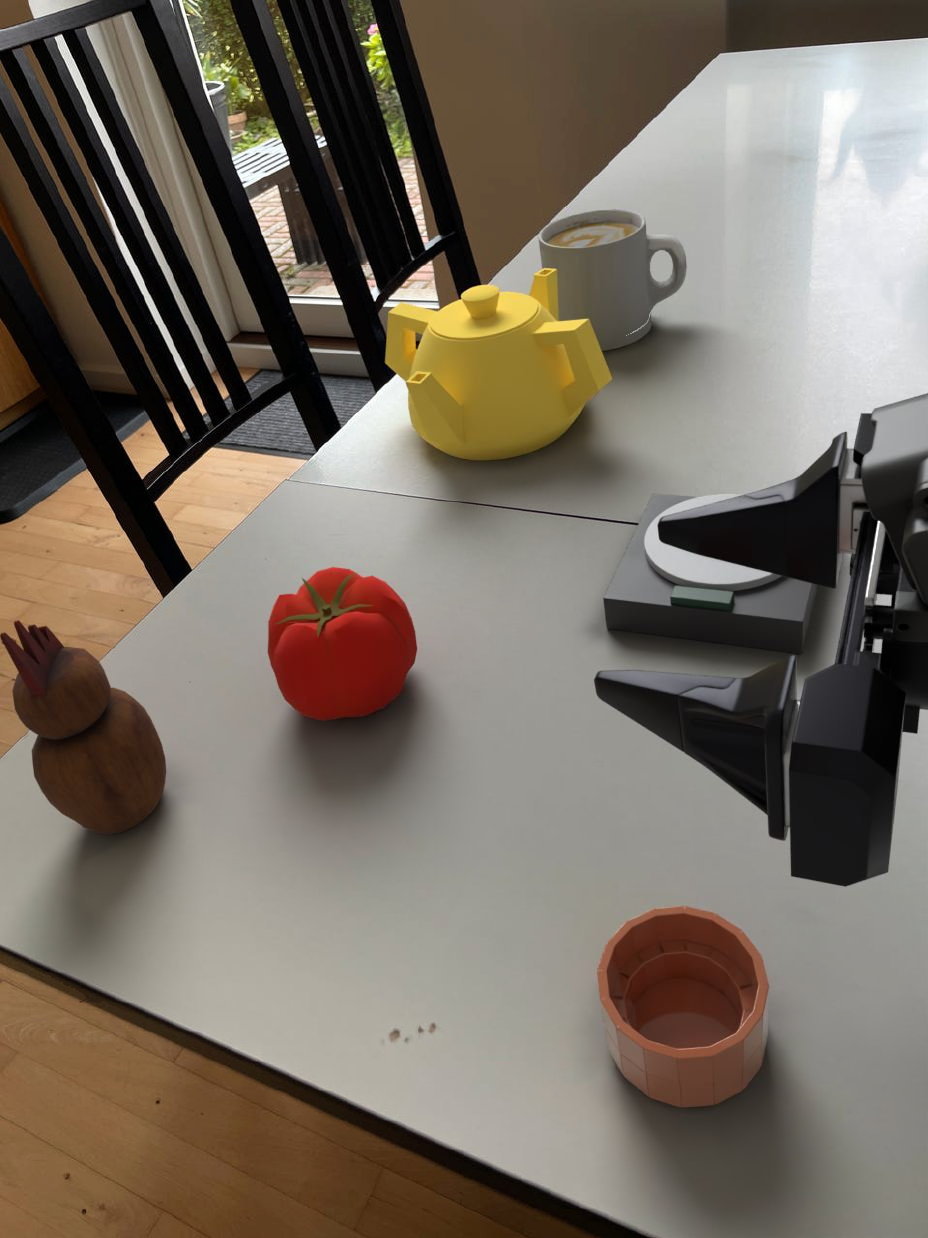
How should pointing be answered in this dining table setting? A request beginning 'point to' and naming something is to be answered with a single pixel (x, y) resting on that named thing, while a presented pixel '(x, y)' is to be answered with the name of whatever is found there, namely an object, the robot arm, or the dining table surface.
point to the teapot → (495, 369)
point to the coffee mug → (609, 271)
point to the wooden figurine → (85, 734)
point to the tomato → (341, 645)
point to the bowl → (684, 1005)
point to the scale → (703, 591)
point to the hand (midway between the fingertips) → (630, 600)
